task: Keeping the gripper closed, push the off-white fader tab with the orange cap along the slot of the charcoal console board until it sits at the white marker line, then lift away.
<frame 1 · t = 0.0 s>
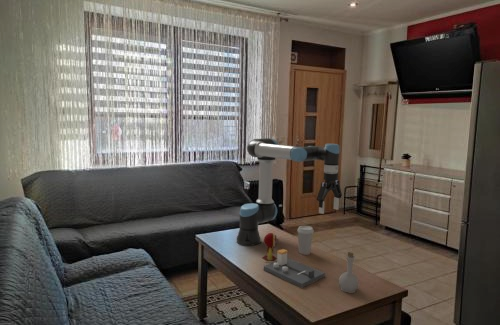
hand: (328, 211, 189), 28 cm above the table, fingers open, 13 cm apart
figurine: (269, 259, 191), on the table
coffee cup: (304, 252, 203), on the table
fader: (282, 257, 180), point 6 cm above the table, slide at 0.0 cm
potion bottle: (348, 289, 160), on the table
console: (293, 273, 175), on the table
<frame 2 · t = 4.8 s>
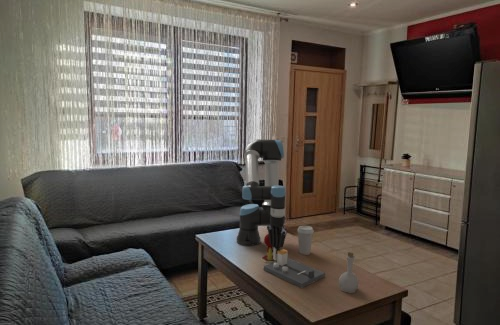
hand: (275, 259, 183), 4 cm above the table, fingers closed
fader: (282, 257, 180), point 6 cm above the table, slide at 0.1 cm, touching gripper
everything else where it was.
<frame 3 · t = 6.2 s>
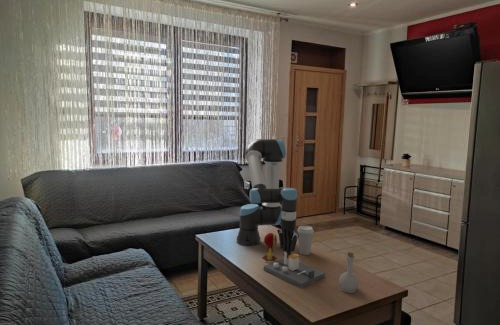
hand: (286, 263, 178), 4 cm above the table, fingers closed
fader: (293, 262, 175), point 6 cm above the table, slide at 7.7 cm, touching gripper
everything else where it was.
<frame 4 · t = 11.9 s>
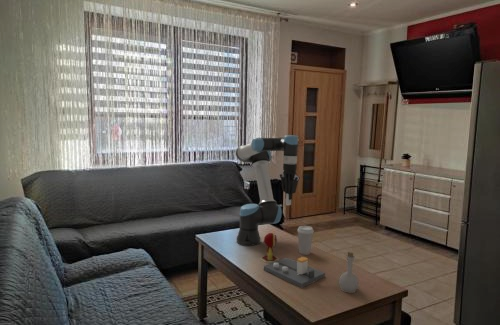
hand: (288, 204, 195), 29 cm above the table, fingers closed
fader: (302, 265, 171), point 6 cm above the table, slide at 13.2 cm
everything else where it was.
at the end: fader slide at 13.2 cm; the gripper is holding nothing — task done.
